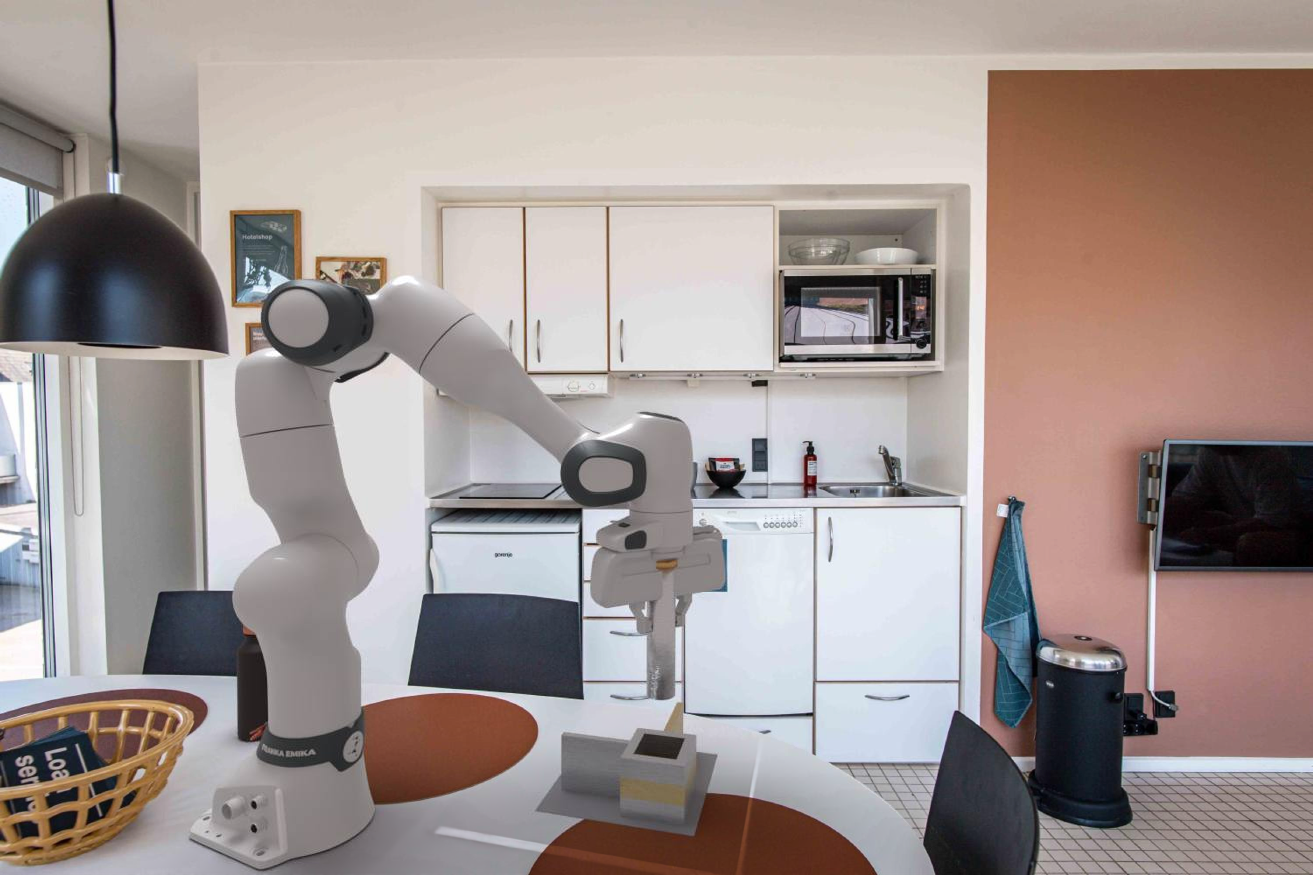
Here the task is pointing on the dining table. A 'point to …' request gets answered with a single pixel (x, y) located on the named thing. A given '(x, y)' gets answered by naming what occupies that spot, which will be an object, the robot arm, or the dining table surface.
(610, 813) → the base board
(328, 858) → the dining table surface
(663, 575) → the hinge pin
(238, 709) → the bottle
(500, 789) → the dining table surface
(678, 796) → the hinge
